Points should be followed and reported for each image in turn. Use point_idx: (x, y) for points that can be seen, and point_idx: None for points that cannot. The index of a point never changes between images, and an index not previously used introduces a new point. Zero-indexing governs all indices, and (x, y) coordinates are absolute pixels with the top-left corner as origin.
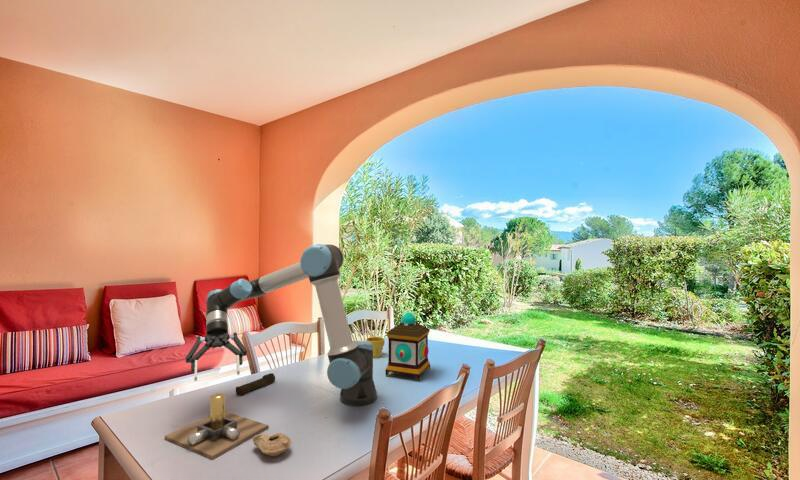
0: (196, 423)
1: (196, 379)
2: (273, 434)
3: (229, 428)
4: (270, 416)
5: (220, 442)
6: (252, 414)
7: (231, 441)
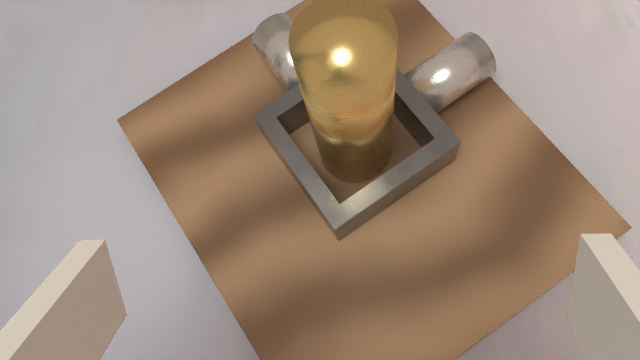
0: (473, 316)
1: (576, 288)
2: None
3: None
4: None
5: None
6: (156, 334)
7: None
